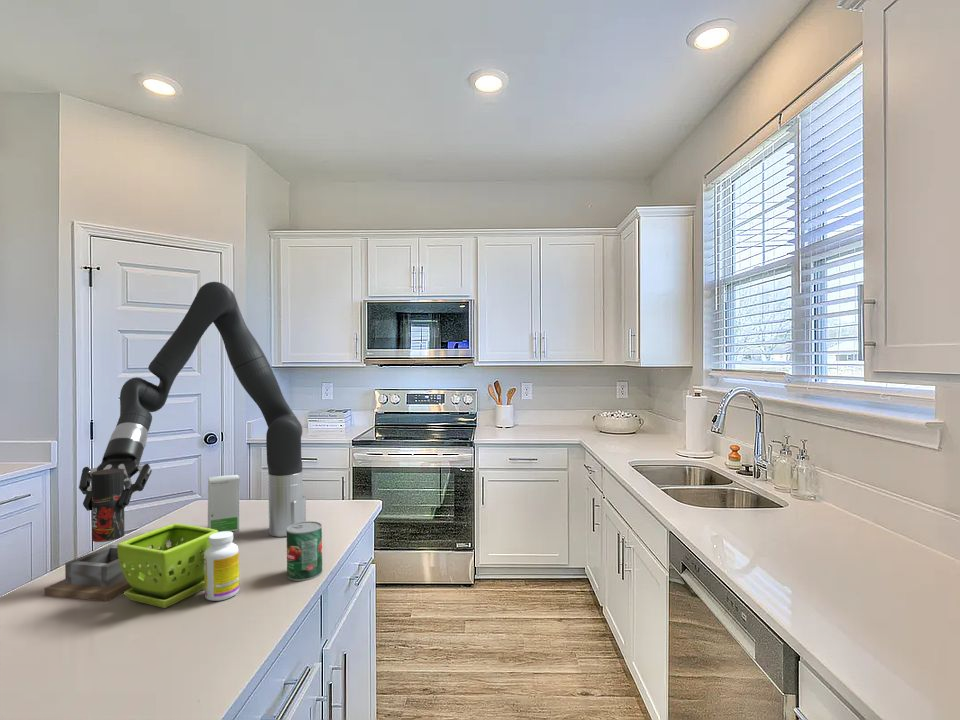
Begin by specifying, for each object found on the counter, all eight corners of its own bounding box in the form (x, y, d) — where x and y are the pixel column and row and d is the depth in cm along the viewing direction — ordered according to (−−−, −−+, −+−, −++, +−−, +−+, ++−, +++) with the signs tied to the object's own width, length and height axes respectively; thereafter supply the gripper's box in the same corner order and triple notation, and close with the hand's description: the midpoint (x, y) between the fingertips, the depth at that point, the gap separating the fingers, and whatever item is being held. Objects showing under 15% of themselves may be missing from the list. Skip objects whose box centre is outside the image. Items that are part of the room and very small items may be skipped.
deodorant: (130, 533, 118) (130, 468, 118) (110, 542, 113) (109, 474, 112) (107, 532, 119) (106, 468, 119) (85, 541, 113) (84, 474, 113)
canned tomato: (329, 570, 121) (329, 523, 121) (305, 583, 114) (304, 534, 114) (304, 564, 124) (303, 519, 124) (279, 577, 117) (278, 529, 117)
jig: (187, 559, 128) (186, 535, 128) (106, 601, 106) (106, 572, 106) (133, 555, 131) (133, 532, 131) (44, 594, 110) (44, 567, 109)
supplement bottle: (246, 590, 111) (245, 531, 111) (221, 604, 104) (220, 541, 104) (222, 585, 113) (221, 528, 113) (197, 599, 107) (196, 538, 107)
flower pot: (114, 604, 105) (113, 543, 105) (176, 577, 118) (175, 522, 118) (164, 616, 100) (163, 551, 100) (222, 585, 113) (221, 528, 113)
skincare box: (208, 536, 145) (207, 481, 145) (207, 529, 150) (206, 476, 150) (240, 530, 149) (240, 477, 149) (238, 524, 155) (238, 473, 154)
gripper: (87, 437, 121) (60, 501, 110) (155, 435, 125) (136, 496, 113) (98, 455, 126) (73, 518, 115) (163, 452, 130) (145, 513, 118)
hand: (104, 507), depth 114 cm, fingers closed on deodorant, 6 cm apart
